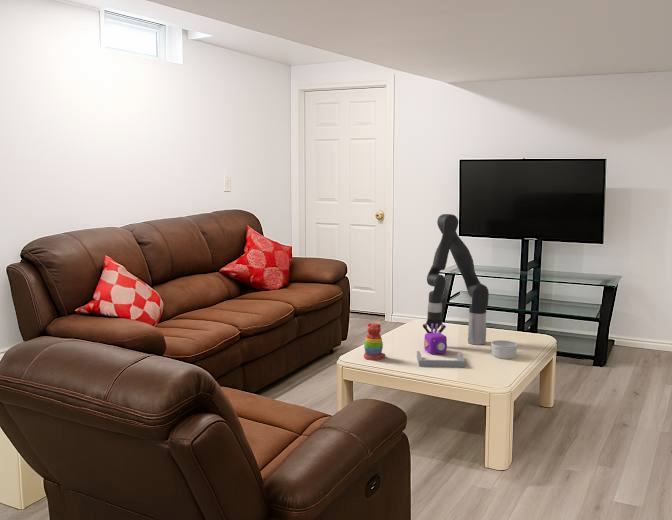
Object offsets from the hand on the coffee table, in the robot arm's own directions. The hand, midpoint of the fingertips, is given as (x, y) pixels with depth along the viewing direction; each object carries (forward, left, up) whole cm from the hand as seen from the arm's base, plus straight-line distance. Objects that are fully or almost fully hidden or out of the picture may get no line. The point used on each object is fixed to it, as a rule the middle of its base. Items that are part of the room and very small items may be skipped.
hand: (433, 341), depth 379 cm
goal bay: (0, +31, -2) cm, 31 cm away
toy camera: (0, +14, -2) cm, 14 cm away
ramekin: (-34, +18, -2) cm, 39 cm away
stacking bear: (+33, +26, -2) cm, 42 cm away
